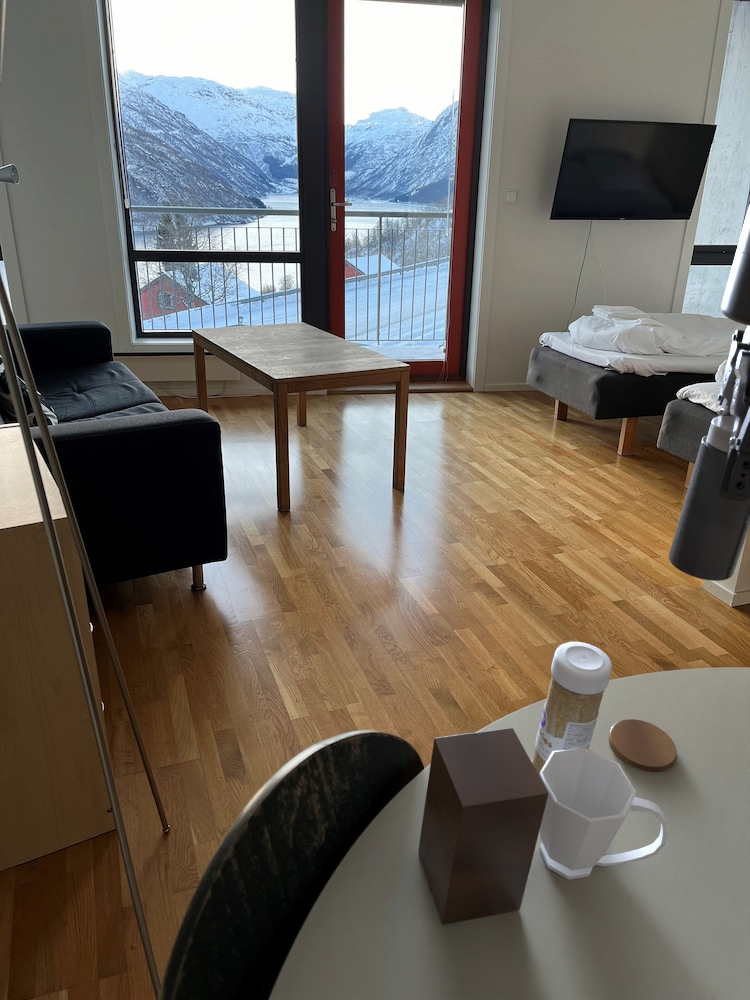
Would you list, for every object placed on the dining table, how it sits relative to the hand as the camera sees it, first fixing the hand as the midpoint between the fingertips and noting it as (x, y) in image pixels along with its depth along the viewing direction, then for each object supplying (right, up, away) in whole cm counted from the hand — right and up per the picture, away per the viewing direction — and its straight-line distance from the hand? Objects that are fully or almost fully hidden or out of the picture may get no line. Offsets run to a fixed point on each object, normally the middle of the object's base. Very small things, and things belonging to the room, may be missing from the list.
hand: (727, 481), depth 56 cm
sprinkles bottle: (-11, -26, +9) cm, 30 cm away
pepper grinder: (-1, -7, +3) cm, 7 cm away
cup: (-10, -30, +1) cm, 32 cm away
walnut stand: (-20, -30, -1) cm, 36 cm away
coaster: (-2, -25, +13) cm, 28 cm away
